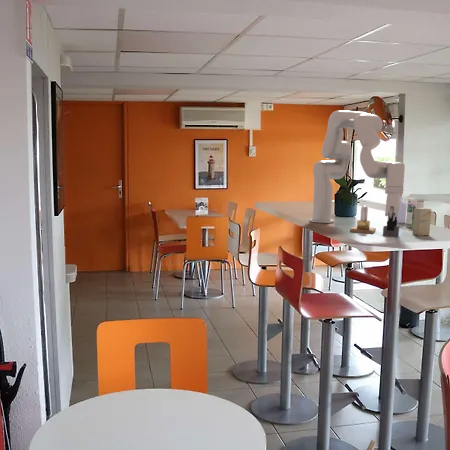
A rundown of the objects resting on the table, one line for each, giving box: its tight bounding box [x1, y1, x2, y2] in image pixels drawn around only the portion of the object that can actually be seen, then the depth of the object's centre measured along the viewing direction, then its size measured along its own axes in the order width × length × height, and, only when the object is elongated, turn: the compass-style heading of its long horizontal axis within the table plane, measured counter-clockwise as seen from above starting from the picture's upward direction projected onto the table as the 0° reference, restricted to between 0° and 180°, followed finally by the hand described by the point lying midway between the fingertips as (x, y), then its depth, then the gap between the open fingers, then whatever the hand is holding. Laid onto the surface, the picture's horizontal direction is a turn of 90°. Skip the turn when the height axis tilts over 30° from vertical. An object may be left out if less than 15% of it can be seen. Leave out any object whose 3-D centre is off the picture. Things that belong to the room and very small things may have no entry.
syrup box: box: [405, 197, 425, 229], centre depth 278 cm, size 6×6×14 cm
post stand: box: [349, 205, 376, 235], centre depth 256 cm, size 10×10×12 cm
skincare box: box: [411, 207, 432, 237], centre depth 251 cm, size 6×4×12 cm
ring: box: [382, 225, 400, 238], centre depth 246 cm, size 6×6×4 cm
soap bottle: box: [397, 188, 407, 224], centre depth 297 cm, size 9×9×25 cm
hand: (391, 229), depth 246 cm, fingers open, 9 cm apart
